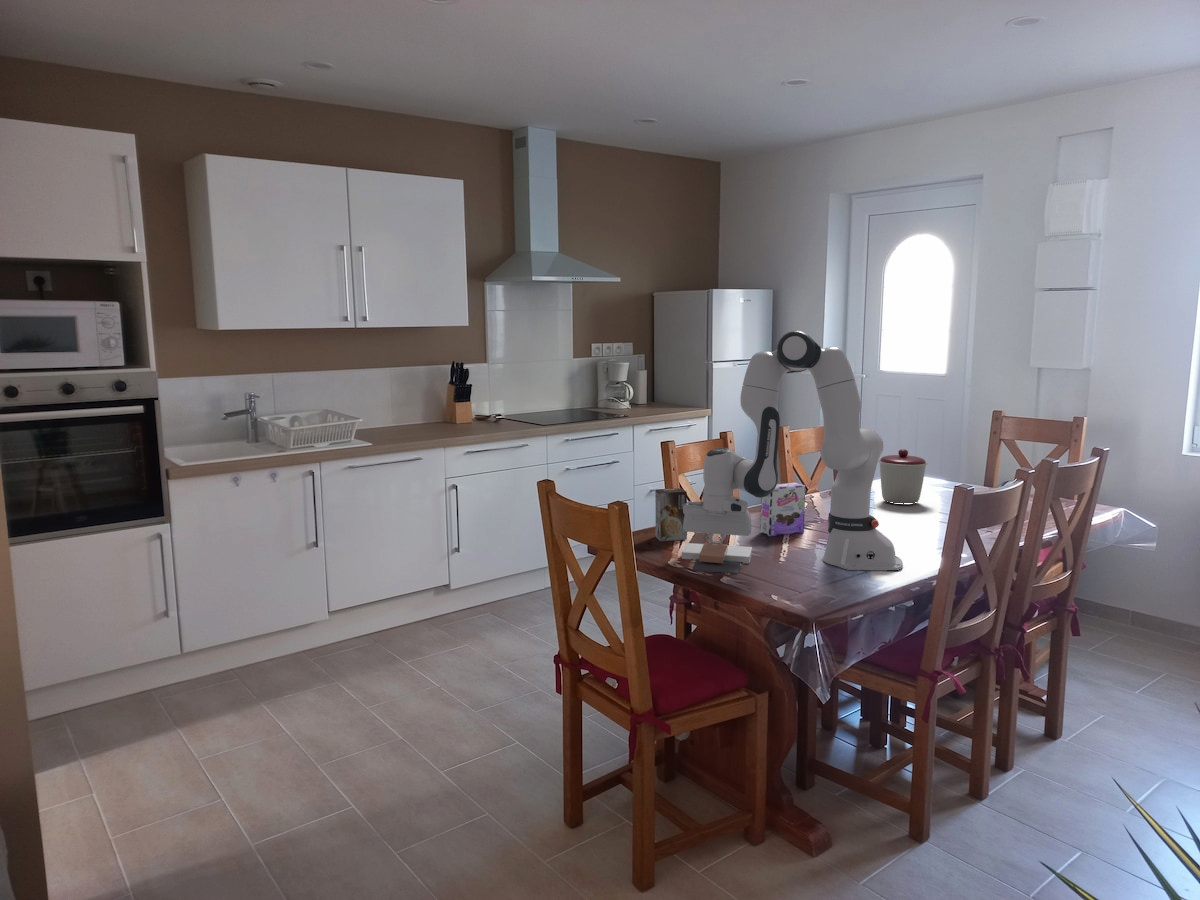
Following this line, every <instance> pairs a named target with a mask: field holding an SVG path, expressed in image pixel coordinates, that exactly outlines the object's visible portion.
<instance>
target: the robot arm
mask: <svg viewBox="0 0 1200 900" xmlns="http://www.w3.org/2000/svg"><path fill="white" fill-rule="evenodd" d="M776 345H777V346H776V350H774V351H765V350H764V351H759V352H756V353H754V354H753V355H752V356H751V358H750V360H749V362H748V365H747V367H746V371H745V375H744V377H743V380H742V381H743V382H742V387H741V391H740V407H741V409H742V411H743V412H744V414H745V415H746V416H747V417H748V418H749V419H750V420H751V421H752V423H754V425H755V427H756V432H757V436H756V437H757V438H756V449H755V456H754V457H755V458H754V460H753V459H750V458H749V457H748V458H747V457H744V456H741V455H740V454H737V453H736V452H734V451H733V450H732V449H731V448H728V447H717V448H712V449H711V450H709V451H708V452H707V453H706V454H705V457H704V463H703V473H702V474H703V478H702V479H703V483H704V484H703V485H704V486H703V491H702V501H692V500H689V501H688V500H687V503H685V504H684V506H683V513H684V514H685V516H684V523H683V529H684V530H685V531H686V532H687V533H697V534H699V533H700V534H707V538H708V539H709V541H710V543H713V544H723V542H724V540H725V538H726V537H727V536H739V537H740V536H741V537H748V536H750V535H751V533H752V517H751V513H750V512H749V510H748V507H749V503H748V501H747V500H744V499H741V498H738V497H735V496H734V495H733V494H734V490H736V489H737V490H740V491H743V492H746V493H748V494H749V495H751V496H753V497H755V498H761V499H762V497H765V496H768V495H769V494H770V493H772V492H773V490H774V489H775V487H776V485H777V484H778V480H779V479H778V478H779V476H778V475H779V474H778V466H777V465H778V464H777V462H778V460H777V459H778V452H779V451H778V449H779V440H780V439H779V437H780V428H781V427H780V425H781V424H780V423H781V422H780V421H781V419H780V418H781V417H780V414H779V413H780V412H779V395H780V392H781V386H782V382H783V378H784V376H785V375H786V374H793V373H802V372H805V371H808V372H810V374H811V375H812V377H813V380H814V383H815V387H816V391H817V396H818V400H819V403H820V407H821V411H822V418H823V442H822V445H821V446H820V452H819V453H820V459H821V460H822V463H823V464H824V465H825V466H826V467H827V468H829V469H830V470H834V471H837V474H836V477H835V480H834V481H833V484H832V485H831V489H830V490H831V491H830V509H829V510H830V511H829V513H828V518H827V532H828V534H827V535H828V536H827V541H826V547H825V549H824V550H825V551H824V553H823V555H822V561H823V562H824V563H827V564H828V565H831V566H832V565H833V566H836V567H839V568H842V569H844V570H847V571H887V570H898V571H900V570H902V569H903V567H904V565H903V564H904V563H903V560H902V559H901V558H900V557H898V556H897V555H896V551H895V550H896V549H895V547H894V543H893V542H892V541H891V540H890V539H889V538H888V537H887V536H885V535H884V534H883V533H882V532H880V531H879V530H878V529H877V528H878V527H879V526H880V523H879V521H878V519H877V518H876V517H875V516H873V515H871V514H870V509H871V508H870V507H871V493H872V492H871V491H872V488H873V486H872V485H873V481H874V477H875V475H876V470H877V466H878V463H879V462H878V460H879V459H880V457H881V455H882V454H883V452H884V440H883V439H882V436H881V435H880V434H879V433H878V432H876V431H875V430H872V429H868V428H860V413H861V410H862V402H861V399H860V393H859V390H858V387H857V382H856V379H855V375H854V372H853V369H852V366H851V364H850V362H849V359H848V357H847V355H846V353H845V352H844V350H843V349H842V348H839V347H835V346H827V347H821V346H820V344H818V342H816V341H815V340H814V339H813V338H812V337H811V336H810V335H809V334H808V333H806V332H804V331H800V330H791V331H789V332H787V333H785V334H783V335H782V336H781V338H780V339H779V340H778V342H777V344H776ZM714 534H715V535H717V534H718V535H720V538H721V539H720V541H716V540H715V539H714ZM901 568H902V569H901ZM899 569H900V570H899Z"/></svg>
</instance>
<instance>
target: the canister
mask: <svg viewBox="0 0 1200 900" xmlns="http://www.w3.org/2000/svg"><path fill="white" fill-rule="evenodd" d="M877 463H879V469H880V470H879V471H880V487H881V496H882V499H883V501H884V500H885V501H888V502H893V503H903V504H904V503H915V502H917V503H918V502H919V500H920V498H921V494H922V489H923V484H924V478H925V472H926V467H927V465H928V464H929V462H928V461H927V460H925V459H924V458H922V457H919V456H913V455H909V451H908V450H907V449H905V448H901V449H899V450H898V454H891V455H884V456H882V457H881V458H879V459H878V462H877ZM885 501H884V502H885Z"/></svg>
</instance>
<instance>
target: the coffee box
mask: <svg viewBox="0 0 1200 900" xmlns="http://www.w3.org/2000/svg"><path fill="white" fill-rule="evenodd" d="M654 492H655V493H654V494H655V538H656V539H658V541H659V542H670V541H685V540H688V532H686V531H685V530H684V529H683V523H684V516H685V514H684V513H683V506H684V504H685V503H687V502H688V499H687V498H688V496H687V495H688V493H687V490H685V489H683V488H681V487H680V488H677V487H676V488H657V489H655V491H654Z"/></svg>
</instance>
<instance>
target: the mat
mask: <svg viewBox="0 0 1200 900" xmlns="http://www.w3.org/2000/svg"><path fill="white" fill-rule="evenodd" d="M740 563H741V562H733V561H724V562H723V563H713V562H702V561H699V559H696V560H695V561H694V563H693V566H692V567H691V569H690V570H695V571H694V572H700V571H706V572H705V573H714V572H721V573H720V574H728V573H734V574H733V575H738V574H737V573H739V569H740V566H741V564H742V563H741V564H740Z"/></svg>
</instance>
